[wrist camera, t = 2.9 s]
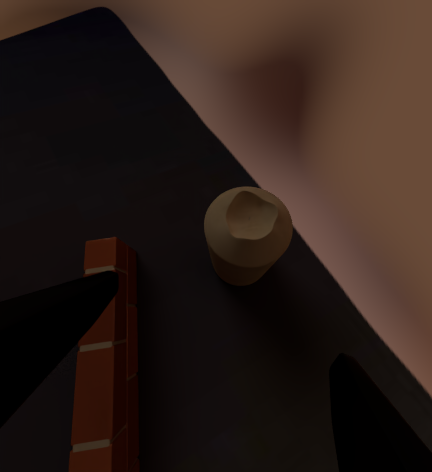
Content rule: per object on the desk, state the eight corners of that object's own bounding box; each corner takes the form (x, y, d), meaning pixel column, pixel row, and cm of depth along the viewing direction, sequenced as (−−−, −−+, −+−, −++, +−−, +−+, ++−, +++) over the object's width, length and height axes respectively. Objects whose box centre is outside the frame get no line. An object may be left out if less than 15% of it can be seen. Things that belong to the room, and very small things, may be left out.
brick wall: (141, 560, 14) (107, 657, 10) (102, 566, 14) (53, 667, 10) (136, 251, 22) (116, 236, 18) (111, 255, 22) (85, 241, 18)
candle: (207, 238, 22) (194, 181, 13) (259, 228, 22) (284, 165, 13) (217, 291, 20) (210, 270, 11) (273, 280, 20) (314, 250, 11)
